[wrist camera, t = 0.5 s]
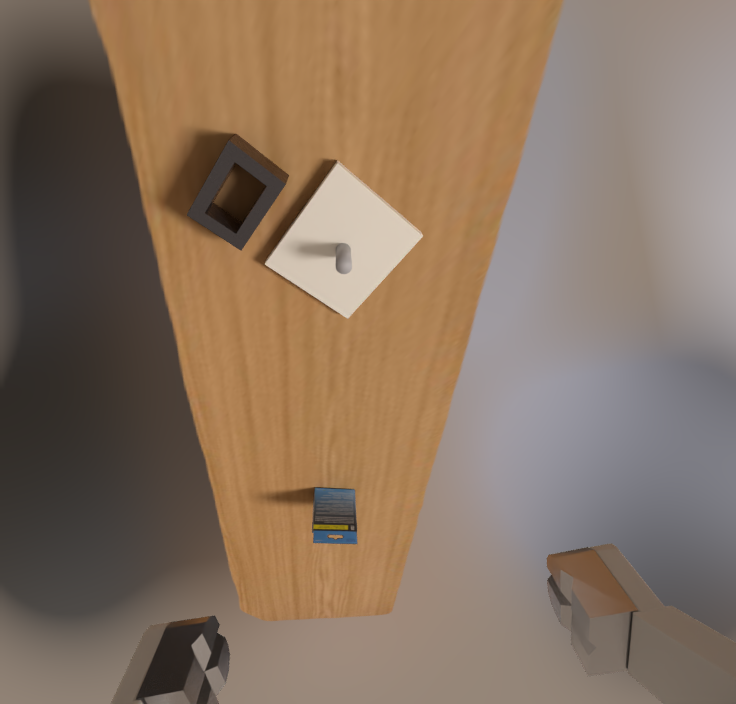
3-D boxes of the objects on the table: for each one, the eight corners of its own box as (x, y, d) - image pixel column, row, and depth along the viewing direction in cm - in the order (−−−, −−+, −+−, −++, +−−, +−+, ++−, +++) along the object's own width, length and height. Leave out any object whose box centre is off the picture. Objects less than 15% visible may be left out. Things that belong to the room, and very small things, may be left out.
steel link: (236, 133, 45) (228, 140, 42) (289, 175, 48) (285, 184, 45) (196, 204, 49) (186, 215, 46) (246, 238, 52) (241, 250, 49)
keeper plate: (337, 160, 47) (337, 173, 42) (421, 231, 53) (430, 251, 48) (266, 259, 54) (258, 281, 49) (347, 313, 60) (348, 338, 55)
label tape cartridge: (312, 497, 88) (310, 553, 78) (314, 486, 86) (312, 542, 76) (352, 498, 89) (355, 554, 80) (355, 488, 87) (358, 544, 77)
